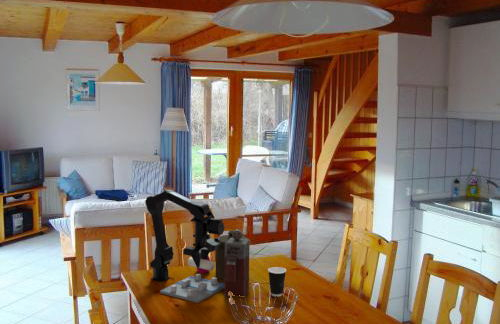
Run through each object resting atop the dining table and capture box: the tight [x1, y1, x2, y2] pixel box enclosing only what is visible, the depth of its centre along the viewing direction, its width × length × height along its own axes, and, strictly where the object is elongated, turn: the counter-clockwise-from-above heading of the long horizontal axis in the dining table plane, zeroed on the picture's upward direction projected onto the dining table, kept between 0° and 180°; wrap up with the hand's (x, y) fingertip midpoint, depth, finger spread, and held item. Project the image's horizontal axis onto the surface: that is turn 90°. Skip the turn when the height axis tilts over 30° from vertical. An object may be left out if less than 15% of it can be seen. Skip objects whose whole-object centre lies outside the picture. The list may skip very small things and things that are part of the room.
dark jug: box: [223, 228, 251, 297], centre depth 215 cm, size 9×11×28 cm
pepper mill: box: [196, 254, 211, 274], centre depth 245 cm, size 7×7×20 cm
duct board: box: [159, 273, 225, 304], centre depth 220 cm, size 20×22×4 cm
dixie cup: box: [267, 266, 287, 298], centre depth 216 cm, size 8×8×11 cm
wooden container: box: [215, 229, 248, 281], centre depth 239 cm, size 15×15×22 cm
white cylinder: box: [187, 256, 216, 271], centre depth 224 cm, size 12×4×4 cm, turn 59°
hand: (201, 266), depth 224 cm, fingers closed on white cylinder, 4 cm apart
